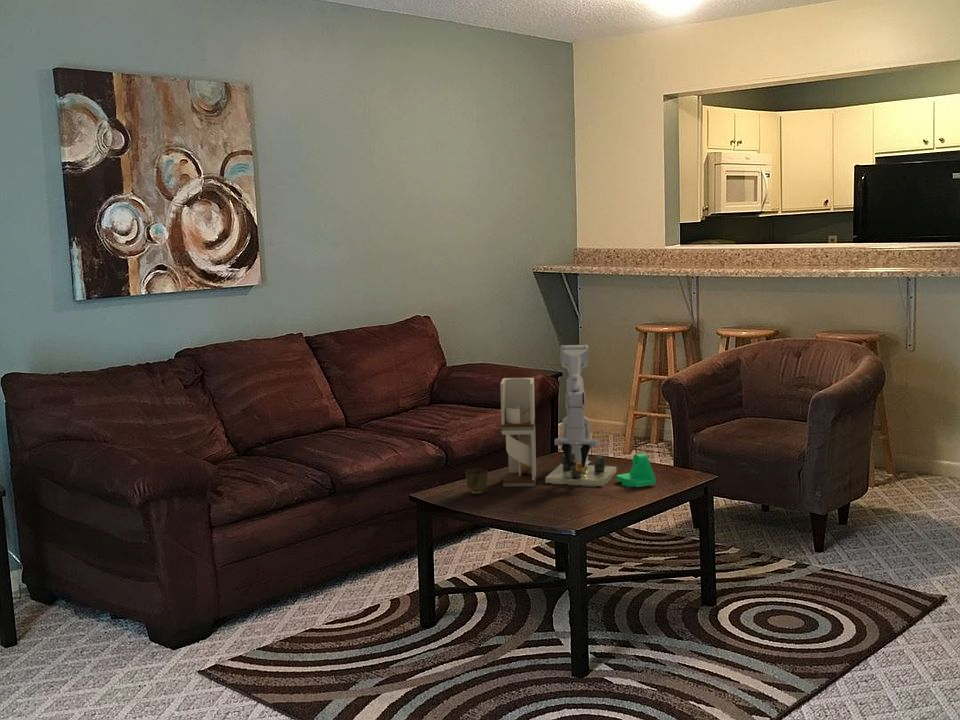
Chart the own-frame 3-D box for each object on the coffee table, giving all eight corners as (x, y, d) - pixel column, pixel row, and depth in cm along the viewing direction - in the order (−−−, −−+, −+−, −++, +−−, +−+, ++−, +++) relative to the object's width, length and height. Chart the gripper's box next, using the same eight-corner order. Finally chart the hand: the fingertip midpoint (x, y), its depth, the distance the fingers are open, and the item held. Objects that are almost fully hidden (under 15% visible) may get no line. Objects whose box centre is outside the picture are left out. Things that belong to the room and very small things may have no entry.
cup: (493, 493, 348) (492, 469, 347) (477, 498, 343) (476, 474, 342) (477, 489, 354) (476, 466, 353) (461, 494, 349) (460, 470, 348)
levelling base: (561, 469, 378) (560, 450, 377) (616, 472, 371) (616, 452, 370) (545, 483, 359) (544, 463, 358) (603, 486, 352) (603, 466, 351)
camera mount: (615, 483, 358) (614, 453, 356) (633, 479, 361) (633, 450, 360) (637, 490, 347) (637, 459, 346) (655, 487, 351) (655, 456, 350)
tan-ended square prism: (568, 475, 361) (568, 460, 360) (578, 474, 362) (577, 459, 361) (575, 478, 356) (574, 464, 355) (584, 477, 357) (584, 463, 356)
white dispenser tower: (505, 477, 368) (502, 378, 363) (536, 477, 367) (533, 377, 362) (503, 486, 357) (500, 383, 352) (534, 486, 356) (532, 383, 351)
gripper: (551, 428, 355) (552, 468, 357) (594, 430, 350) (594, 470, 352) (557, 424, 362) (558, 463, 364) (599, 425, 357) (599, 465, 359)
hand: (576, 466), depth 358 cm, fingers closed on tan-ended square prism, 4 cm apart
